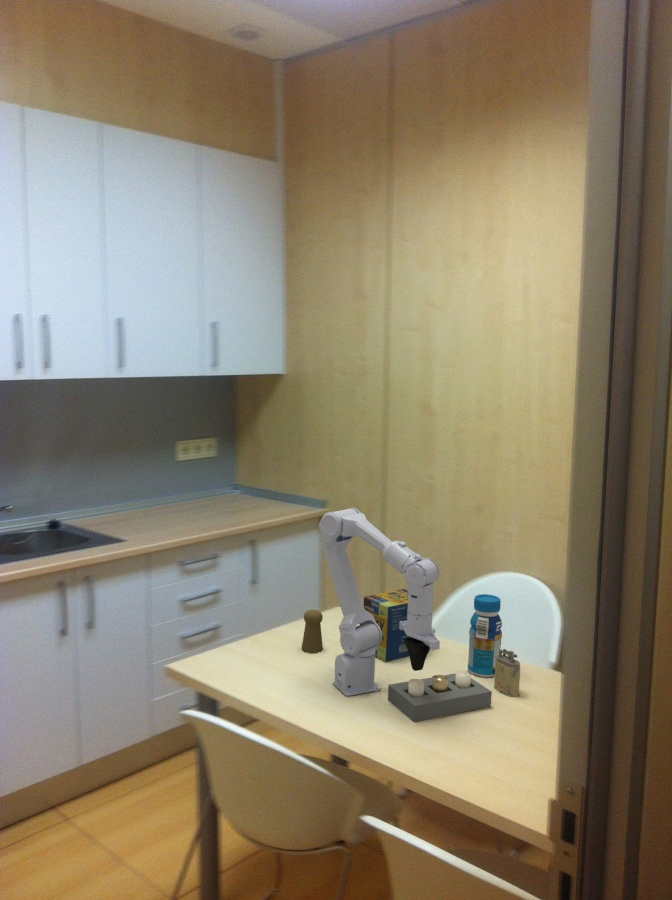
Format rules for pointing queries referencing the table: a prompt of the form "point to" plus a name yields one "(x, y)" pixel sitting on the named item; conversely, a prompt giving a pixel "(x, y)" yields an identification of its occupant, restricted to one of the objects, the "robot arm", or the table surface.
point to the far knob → (462, 679)
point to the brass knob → (440, 683)
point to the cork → (312, 632)
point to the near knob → (416, 688)
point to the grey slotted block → (439, 699)
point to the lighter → (507, 673)
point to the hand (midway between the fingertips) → (417, 669)
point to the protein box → (389, 622)
